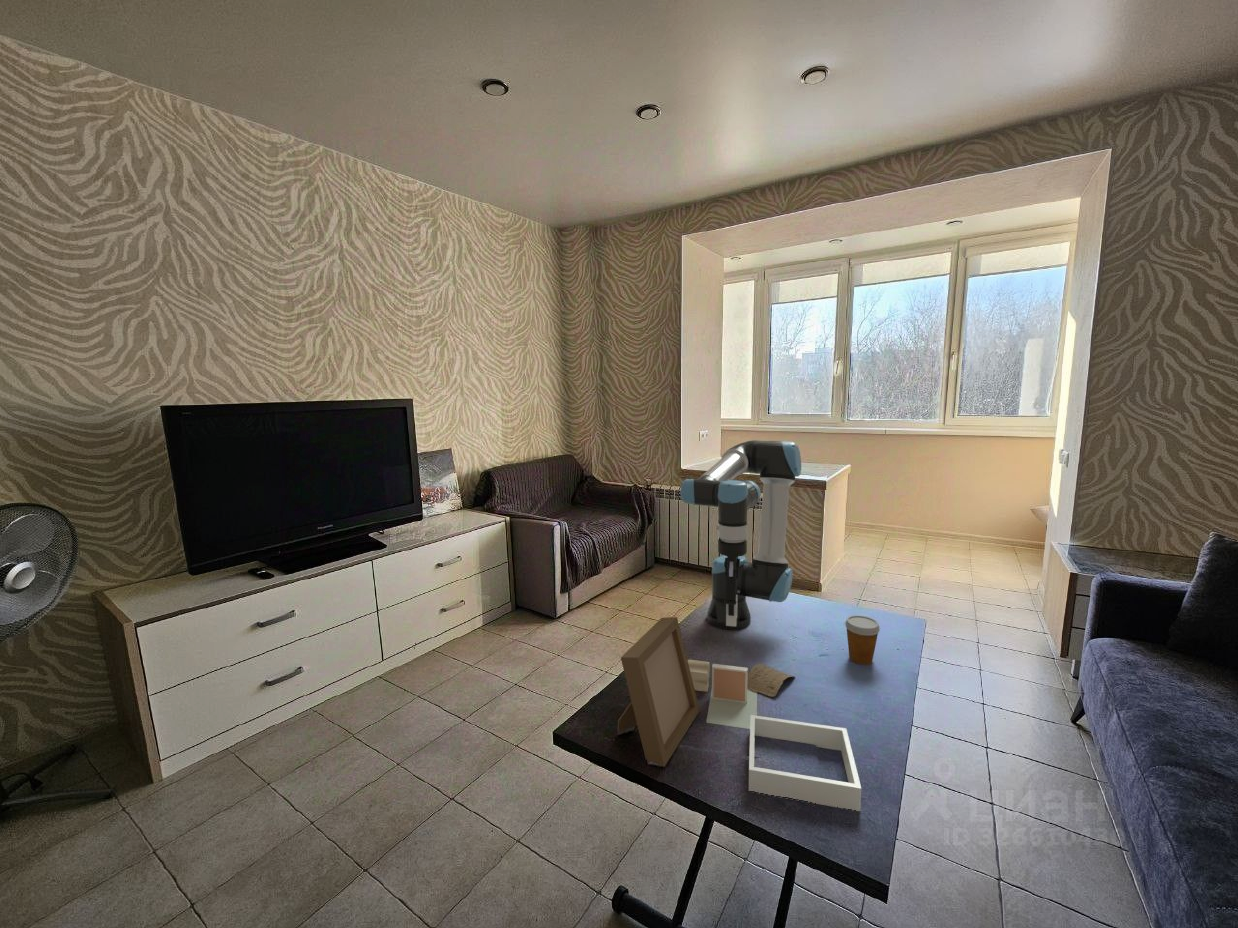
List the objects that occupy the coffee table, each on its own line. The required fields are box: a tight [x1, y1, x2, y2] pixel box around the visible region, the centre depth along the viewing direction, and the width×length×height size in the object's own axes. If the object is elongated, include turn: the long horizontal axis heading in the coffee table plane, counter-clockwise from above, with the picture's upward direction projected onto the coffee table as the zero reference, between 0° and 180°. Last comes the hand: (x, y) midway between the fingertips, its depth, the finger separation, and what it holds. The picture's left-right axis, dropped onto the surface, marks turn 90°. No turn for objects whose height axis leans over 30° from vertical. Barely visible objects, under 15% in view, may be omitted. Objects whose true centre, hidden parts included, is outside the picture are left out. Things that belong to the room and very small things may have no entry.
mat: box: [705, 689, 758, 730], centre depth 132 cm, size 18×12×1 cm, turn 165°
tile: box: [711, 663, 749, 703], centre depth 133 cm, size 2×9×9 cm, turn 75°
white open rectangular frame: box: [748, 715, 862, 812], centre depth 109 cm, size 18×21×5 cm
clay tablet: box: [747, 663, 794, 697], centre depth 142 cm, size 14×10×3 cm
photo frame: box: [617, 616, 700, 768], centre depth 121 cm, size 15×22×25 cm
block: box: [687, 659, 711, 692], centre depth 141 cm, size 6×6×6 cm
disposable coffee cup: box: [844, 614, 881, 666], centre depth 152 cm, size 10×10×12 cm
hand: (731, 620), depth 139 cm, fingers open, 4 cm apart
